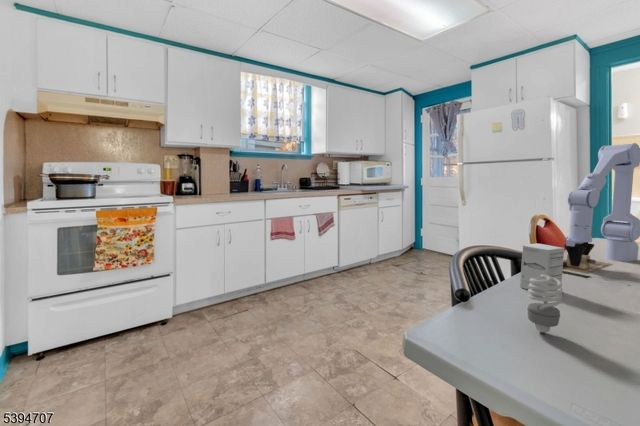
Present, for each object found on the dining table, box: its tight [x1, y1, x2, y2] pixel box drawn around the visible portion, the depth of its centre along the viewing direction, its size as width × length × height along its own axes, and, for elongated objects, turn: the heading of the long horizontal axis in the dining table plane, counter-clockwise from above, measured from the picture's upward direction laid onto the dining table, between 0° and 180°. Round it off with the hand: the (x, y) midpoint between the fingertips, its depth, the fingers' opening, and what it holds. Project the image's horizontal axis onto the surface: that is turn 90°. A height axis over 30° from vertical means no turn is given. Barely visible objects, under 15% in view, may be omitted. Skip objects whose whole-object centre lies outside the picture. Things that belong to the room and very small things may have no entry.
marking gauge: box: [566, 253, 597, 269], centre depth 108 cm, size 4×7×4 cm, turn 31°
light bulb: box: [527, 275, 563, 334], centre depth 64 cm, size 6×6×12 cm
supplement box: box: [519, 242, 566, 292], centre depth 90 cm, size 7×7×13 cm
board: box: [562, 259, 614, 279], centre depth 111 cm, size 22×9×3 cm, turn 121°
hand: (577, 264), depth 109 cm, fingers closed on marking gauge, 4 cm apart
